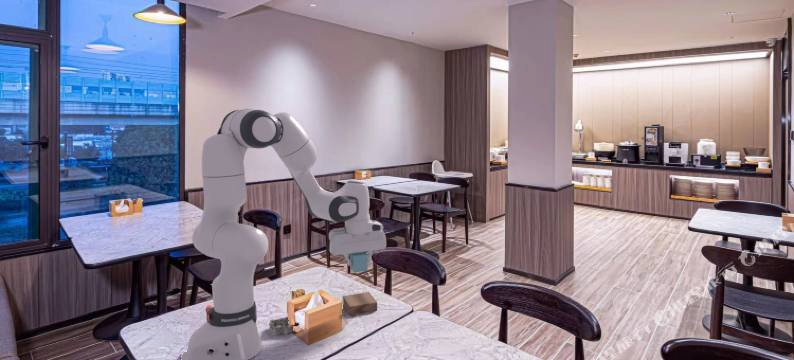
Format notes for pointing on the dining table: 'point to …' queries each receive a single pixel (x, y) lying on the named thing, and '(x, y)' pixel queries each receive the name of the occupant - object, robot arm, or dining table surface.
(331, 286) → the dining table surface
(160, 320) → the dining table surface
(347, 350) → the dining table surface
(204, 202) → the robot arm
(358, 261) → the teal block
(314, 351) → the dining table surface
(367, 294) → the walnut plinth
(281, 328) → the egg carton
